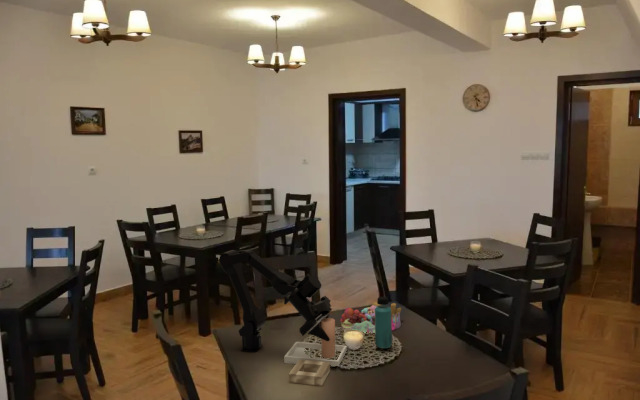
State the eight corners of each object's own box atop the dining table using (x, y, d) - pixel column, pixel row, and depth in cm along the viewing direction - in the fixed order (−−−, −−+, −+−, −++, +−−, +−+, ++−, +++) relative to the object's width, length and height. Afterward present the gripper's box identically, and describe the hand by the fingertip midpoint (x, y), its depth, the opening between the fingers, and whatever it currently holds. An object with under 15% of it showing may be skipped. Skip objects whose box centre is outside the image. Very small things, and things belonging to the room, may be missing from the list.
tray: (284, 363, 182) (284, 356, 182) (296, 347, 196) (296, 341, 195) (338, 368, 177) (338, 361, 177) (346, 352, 190) (346, 345, 190)
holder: (289, 382, 168) (288, 373, 167) (299, 367, 178) (299, 359, 178) (321, 385, 165) (321, 377, 164) (330, 370, 175) (329, 362, 175)
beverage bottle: (391, 352, 189) (391, 300, 187) (374, 351, 190) (373, 300, 188) (392, 345, 195) (392, 295, 193) (375, 344, 197) (374, 294, 194)
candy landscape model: (363, 312, 236) (363, 293, 235) (409, 321, 222) (409, 301, 221) (333, 329, 215) (333, 308, 214) (382, 340, 202) (382, 318, 201)
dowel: (323, 358, 181) (322, 323, 180) (320, 352, 186) (319, 318, 184) (336, 357, 182) (336, 322, 180) (333, 351, 187) (333, 317, 185)
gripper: (306, 299, 174) (337, 333, 171) (326, 284, 191) (354, 316, 188) (286, 318, 178) (316, 353, 175) (307, 302, 195) (335, 333, 192)
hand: (331, 337), depth 183 cm, fingers closed on dowel, 5 cm apart
